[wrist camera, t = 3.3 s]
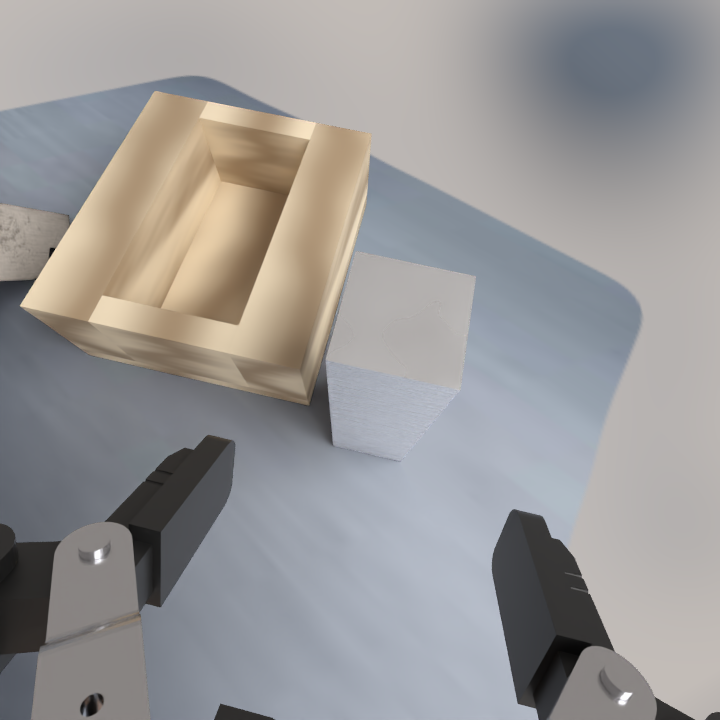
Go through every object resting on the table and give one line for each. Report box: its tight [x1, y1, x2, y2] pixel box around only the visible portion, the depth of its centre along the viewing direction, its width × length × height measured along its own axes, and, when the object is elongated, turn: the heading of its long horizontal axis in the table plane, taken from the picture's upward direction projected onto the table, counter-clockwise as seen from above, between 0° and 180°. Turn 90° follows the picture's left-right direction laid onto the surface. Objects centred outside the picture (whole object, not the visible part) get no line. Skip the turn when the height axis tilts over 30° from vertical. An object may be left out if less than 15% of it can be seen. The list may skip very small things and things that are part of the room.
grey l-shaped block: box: [325, 251, 476, 462], centre depth 20 cm, size 4×10×13 cm, turn 167°
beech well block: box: [20, 91, 371, 406], centre depth 26 cm, size 14×16×6 cm
